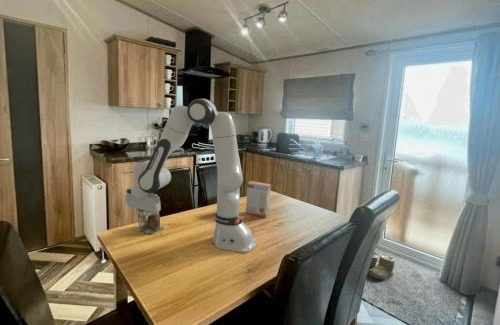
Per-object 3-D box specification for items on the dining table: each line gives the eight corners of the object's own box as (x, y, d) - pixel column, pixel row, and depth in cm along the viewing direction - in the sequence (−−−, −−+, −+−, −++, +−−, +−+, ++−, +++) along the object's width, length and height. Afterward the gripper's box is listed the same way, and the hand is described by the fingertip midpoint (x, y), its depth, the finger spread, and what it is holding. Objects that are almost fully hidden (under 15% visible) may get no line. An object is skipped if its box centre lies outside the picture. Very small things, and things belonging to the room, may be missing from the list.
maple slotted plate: (155, 217, 148) (155, 203, 146) (158, 218, 147) (158, 204, 145) (138, 225, 137) (138, 210, 135) (141, 226, 136) (141, 211, 134)
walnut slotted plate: (163, 228, 144) (163, 213, 142) (152, 234, 137) (152, 218, 135) (146, 224, 149) (146, 208, 147) (135, 229, 141) (134, 213, 140)
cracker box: (269, 215, 173) (271, 183, 169) (265, 218, 167) (268, 186, 163) (249, 210, 178) (251, 180, 175) (245, 213, 173) (247, 182, 169)
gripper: (163, 193, 134) (163, 219, 136) (133, 186, 142) (133, 211, 144) (154, 196, 128) (154, 223, 131) (123, 189, 136) (123, 215, 139)
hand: (143, 217), depth 137 cm, fingers closed on maple slotted plate, 2 cm apart
